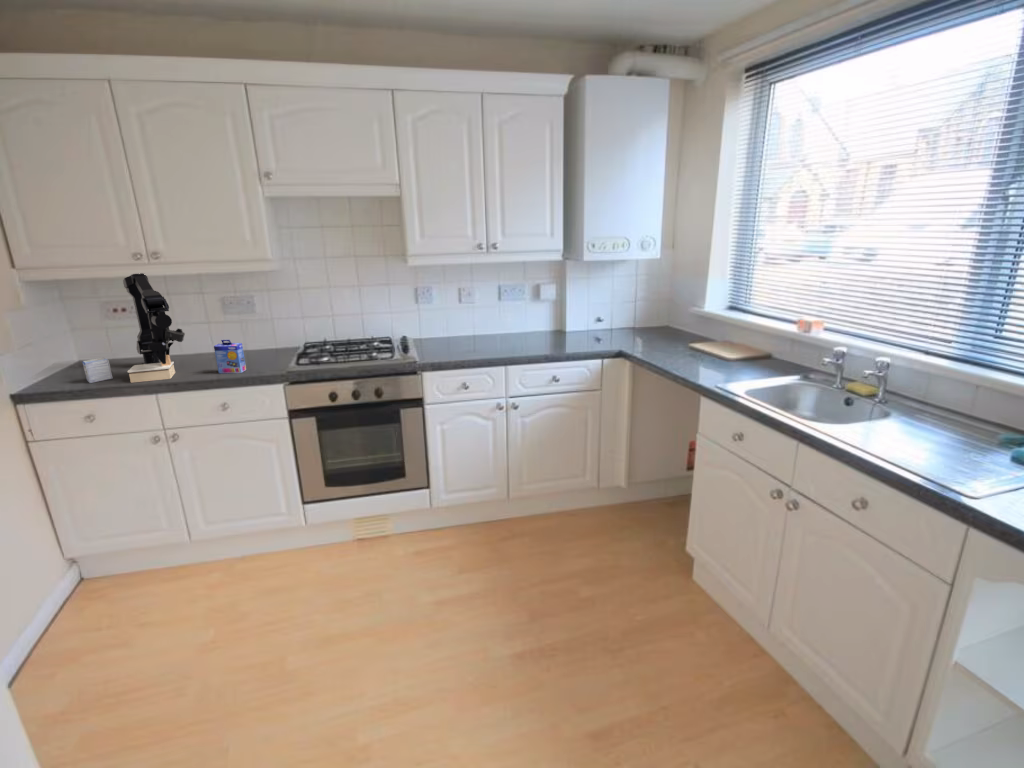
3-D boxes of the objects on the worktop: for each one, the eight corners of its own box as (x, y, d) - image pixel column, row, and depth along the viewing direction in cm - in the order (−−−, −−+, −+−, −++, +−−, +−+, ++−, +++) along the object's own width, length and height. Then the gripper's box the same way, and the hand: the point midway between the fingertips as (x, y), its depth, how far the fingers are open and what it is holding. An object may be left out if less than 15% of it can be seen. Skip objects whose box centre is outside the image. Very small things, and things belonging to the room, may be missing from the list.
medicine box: (109, 377, 226) (104, 357, 224) (113, 379, 223) (108, 358, 221) (87, 381, 220) (81, 361, 218) (90, 383, 218) (84, 362, 215)
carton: (137, 376, 226) (135, 367, 225) (175, 372, 231) (173, 363, 230) (130, 382, 218) (128, 373, 216) (170, 378, 222) (168, 369, 221)
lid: (134, 366, 225) (131, 355, 224) (173, 362, 230) (171, 352, 229) (127, 372, 216) (125, 361, 215) (169, 368, 221) (166, 357, 220)
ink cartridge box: (217, 374, 229) (211, 340, 224) (223, 370, 234) (218, 337, 230) (241, 373, 229) (235, 340, 225) (247, 369, 234) (241, 337, 230)
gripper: (176, 327, 215) (184, 365, 219) (184, 320, 231) (191, 355, 236) (144, 330, 211) (152, 368, 215) (154, 322, 227) (162, 358, 232)
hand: (166, 362), depth 225 cm, fingers open, 6 cm apart
